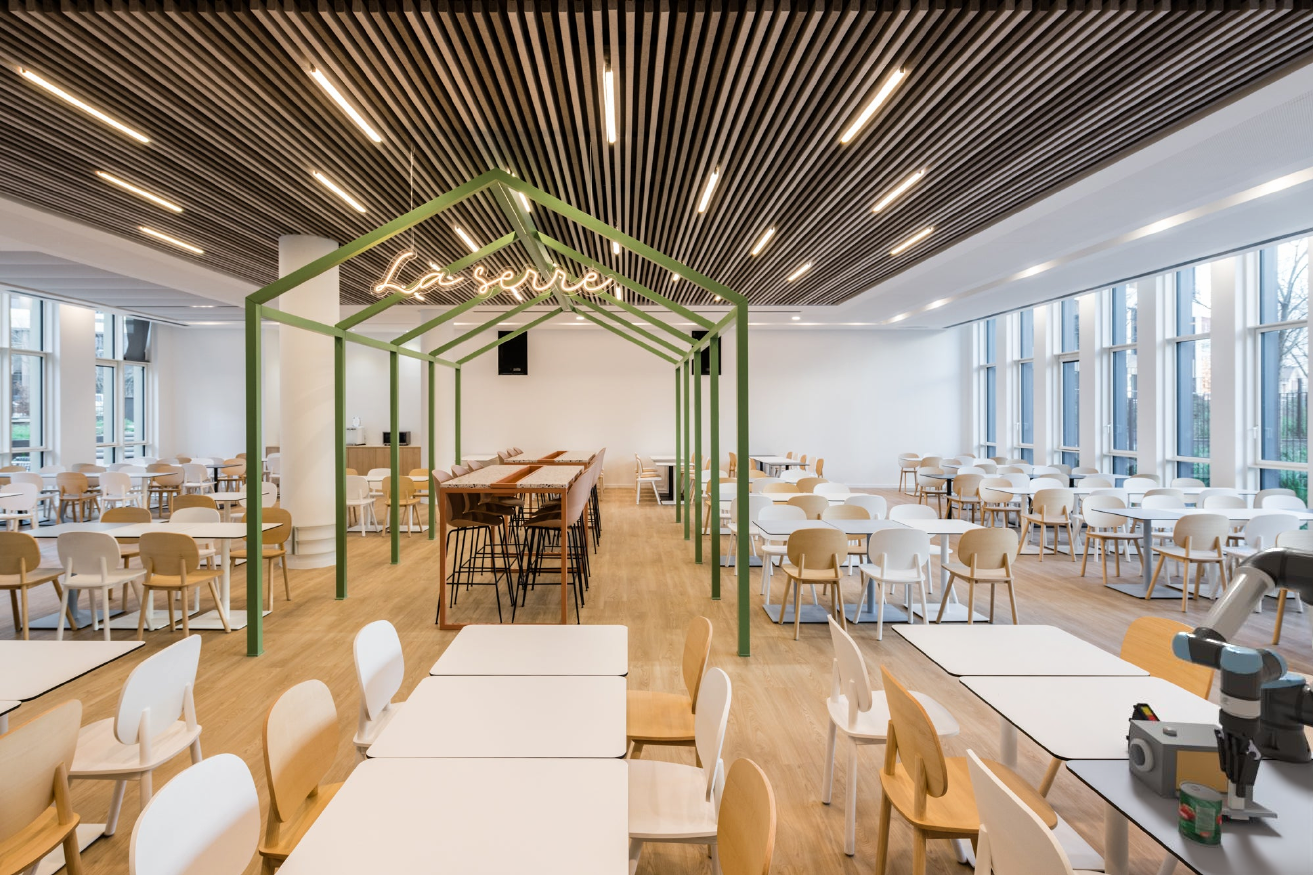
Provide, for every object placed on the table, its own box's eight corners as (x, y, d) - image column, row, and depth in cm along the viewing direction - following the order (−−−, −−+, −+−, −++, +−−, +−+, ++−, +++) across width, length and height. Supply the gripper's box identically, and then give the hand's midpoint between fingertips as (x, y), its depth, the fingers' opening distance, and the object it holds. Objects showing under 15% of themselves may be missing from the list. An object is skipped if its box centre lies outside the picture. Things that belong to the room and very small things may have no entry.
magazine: (1132, 737, 203) (1147, 702, 197) (1158, 776, 192) (1176, 740, 185) (1119, 736, 204) (1134, 701, 197) (1145, 775, 192) (1162, 740, 185)
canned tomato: (1230, 846, 154) (1232, 799, 153) (1198, 847, 153) (1200, 800, 153) (1199, 825, 161) (1201, 780, 161) (1169, 826, 161) (1170, 781, 161)
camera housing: (1213, 773, 186) (1214, 720, 185) (1253, 803, 171) (1255, 745, 171) (1120, 768, 188) (1121, 715, 188) (1152, 796, 174) (1154, 739, 174)
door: (1175, 790, 173) (1205, 809, 162) (1241, 795, 171) (1277, 813, 161) (1175, 799, 173) (1206, 817, 162) (1242, 803, 171) (1277, 822, 160)
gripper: (1203, 700, 169) (1200, 791, 170) (1243, 723, 156) (1239, 822, 157) (1235, 701, 168) (1232, 793, 169) (1278, 725, 155) (1274, 824, 156)
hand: (1235, 807), depth 163 cm, fingers closed
